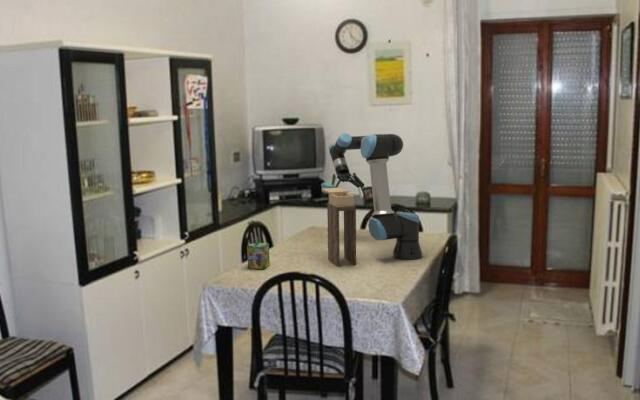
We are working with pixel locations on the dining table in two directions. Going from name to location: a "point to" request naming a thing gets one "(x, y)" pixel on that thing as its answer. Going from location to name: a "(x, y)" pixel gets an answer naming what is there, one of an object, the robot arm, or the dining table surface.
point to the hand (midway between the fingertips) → (351, 198)
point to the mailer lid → (332, 189)
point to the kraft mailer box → (341, 199)
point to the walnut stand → (348, 233)
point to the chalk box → (258, 255)
